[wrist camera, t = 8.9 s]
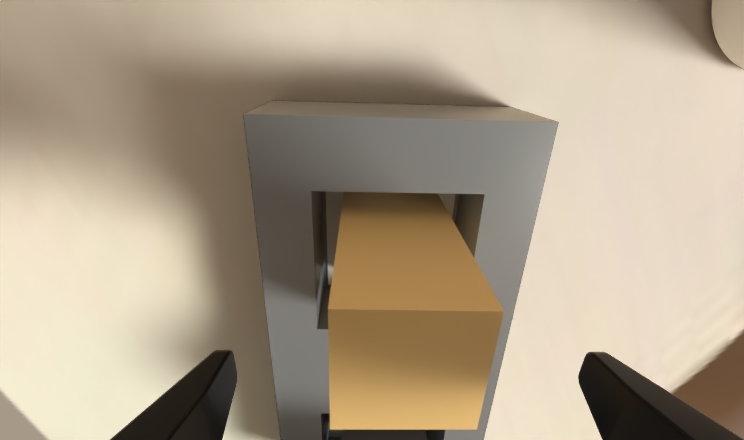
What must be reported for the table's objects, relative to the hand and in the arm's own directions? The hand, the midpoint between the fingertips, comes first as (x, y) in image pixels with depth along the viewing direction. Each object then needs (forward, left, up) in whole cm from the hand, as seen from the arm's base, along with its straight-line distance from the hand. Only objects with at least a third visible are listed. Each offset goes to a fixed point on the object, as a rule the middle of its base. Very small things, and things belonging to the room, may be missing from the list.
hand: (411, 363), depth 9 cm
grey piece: (-6, 0, -9) cm, 10 cm away
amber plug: (0, 0, -8) cm, 8 cm away
